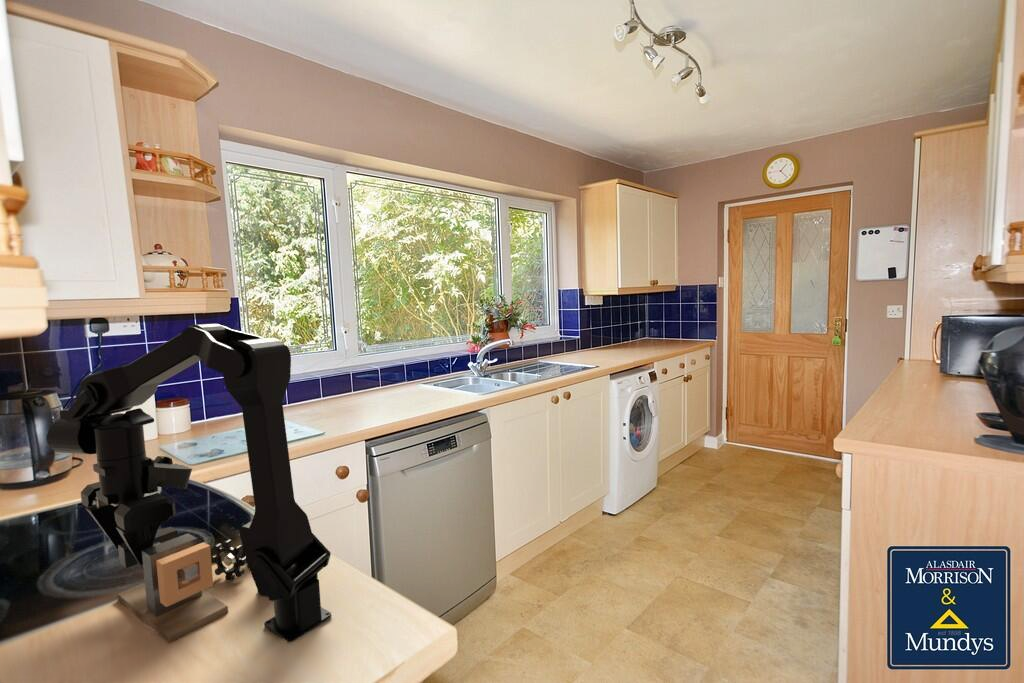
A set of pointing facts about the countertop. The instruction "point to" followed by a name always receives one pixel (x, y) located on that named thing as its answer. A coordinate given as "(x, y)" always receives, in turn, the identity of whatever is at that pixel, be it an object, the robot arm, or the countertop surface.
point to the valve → (229, 560)
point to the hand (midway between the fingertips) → (132, 555)
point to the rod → (161, 536)
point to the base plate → (174, 613)
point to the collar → (170, 564)
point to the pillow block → (151, 574)
